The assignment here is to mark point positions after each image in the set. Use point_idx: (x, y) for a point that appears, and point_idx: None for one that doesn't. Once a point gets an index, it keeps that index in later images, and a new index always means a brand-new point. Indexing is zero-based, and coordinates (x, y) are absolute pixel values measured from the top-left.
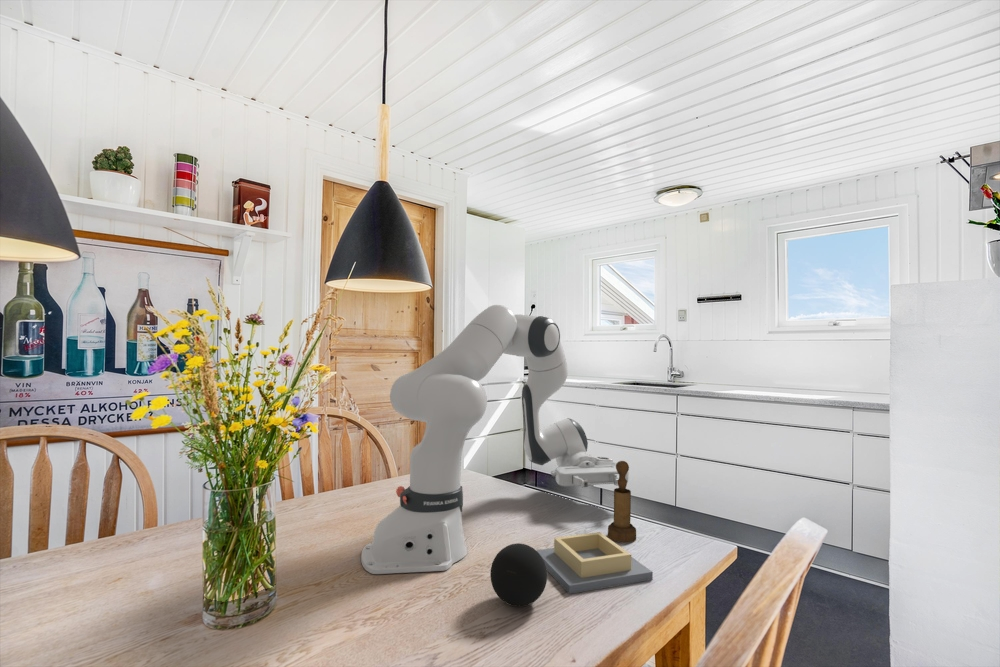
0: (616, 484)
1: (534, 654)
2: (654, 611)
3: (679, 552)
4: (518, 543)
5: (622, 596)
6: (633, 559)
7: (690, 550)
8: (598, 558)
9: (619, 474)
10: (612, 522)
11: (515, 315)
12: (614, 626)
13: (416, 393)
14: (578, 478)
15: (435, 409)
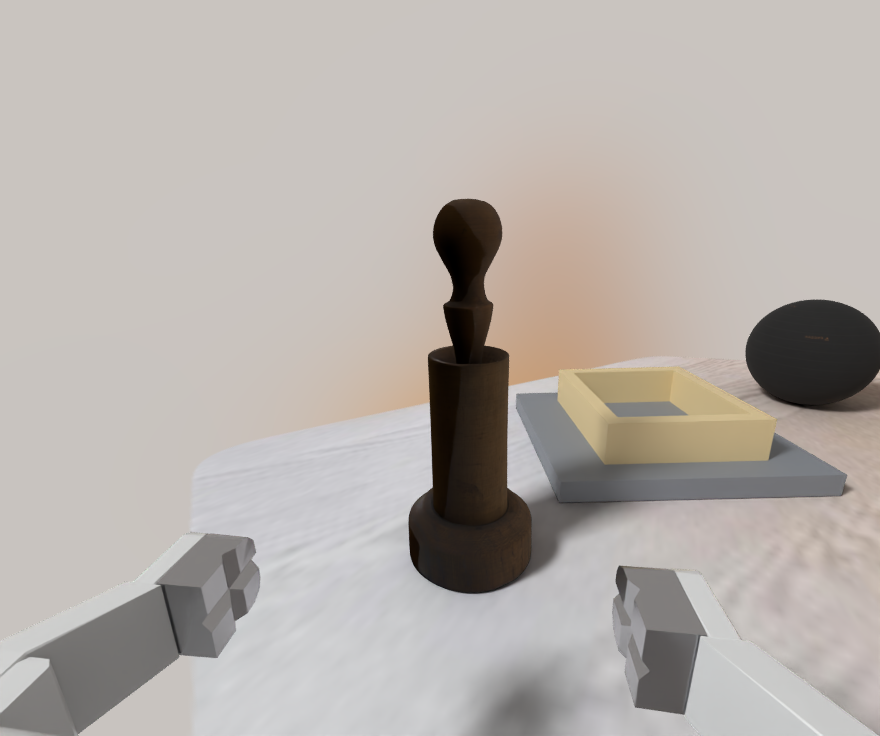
0: (259, 577)
1: (733, 361)
2: (557, 376)
3: (365, 455)
4: (830, 306)
5: None
6: (532, 417)
7: (326, 456)
8: (638, 368)
9: (485, 270)
10: (499, 525)
11: None
12: None
13: None
14: (782, 670)
15: None
